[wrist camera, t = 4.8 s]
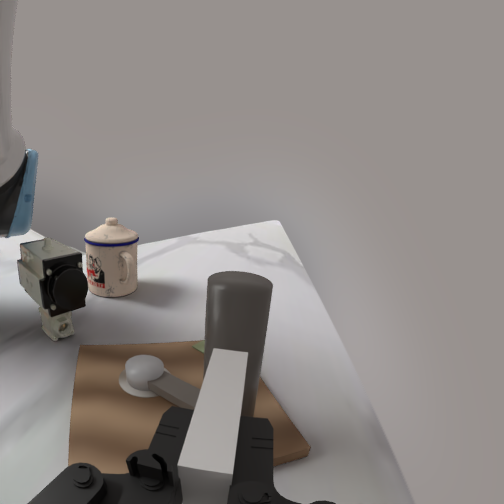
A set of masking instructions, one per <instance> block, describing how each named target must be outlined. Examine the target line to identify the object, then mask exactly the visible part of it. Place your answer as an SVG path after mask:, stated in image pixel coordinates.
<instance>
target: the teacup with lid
mask: <svg viewBox="0 0 504 504" xmlns="http://www.w3.org/2000/svg"><path fill="white" fill-rule="evenodd" d="M117 223H118V220H117V219H116V218H107V219H106V224H104V225H101V226H99V227H98V228H97V229H95V230H92V231H89V232H88V233H87V234H86V235H85V238H84V240H85V242H86V261H87V279H88V288H89V290H90V291H91V292H92V293H94V294H96V295H99V296H103V297H120V296H125V295H128V294H130V293H132V292H134V291H135V290H136V288H137V241H138V240H139V237H138V234H137V233H136V232H134V231H132V230H129V229H127V228H125V227H124V226H123V225H120V224H117Z"/></svg>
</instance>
